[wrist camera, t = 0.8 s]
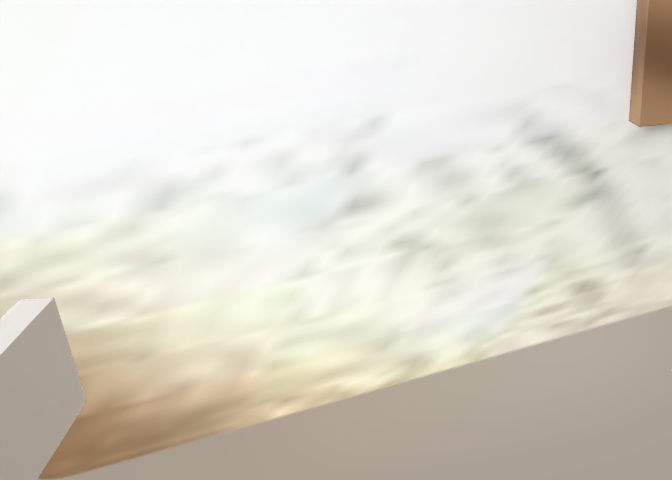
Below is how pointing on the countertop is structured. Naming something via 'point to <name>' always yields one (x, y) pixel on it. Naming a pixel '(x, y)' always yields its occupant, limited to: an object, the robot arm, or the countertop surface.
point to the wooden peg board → (652, 64)
